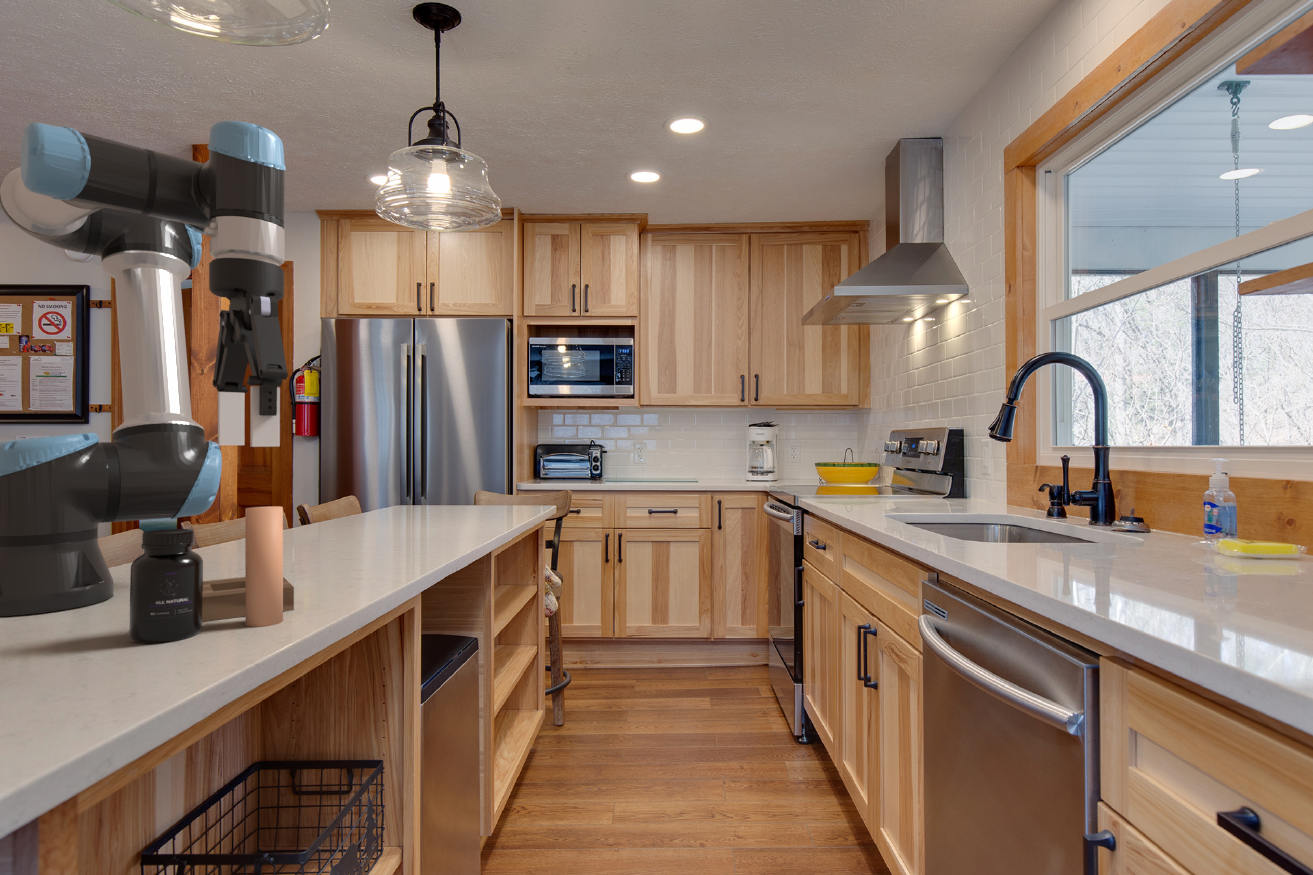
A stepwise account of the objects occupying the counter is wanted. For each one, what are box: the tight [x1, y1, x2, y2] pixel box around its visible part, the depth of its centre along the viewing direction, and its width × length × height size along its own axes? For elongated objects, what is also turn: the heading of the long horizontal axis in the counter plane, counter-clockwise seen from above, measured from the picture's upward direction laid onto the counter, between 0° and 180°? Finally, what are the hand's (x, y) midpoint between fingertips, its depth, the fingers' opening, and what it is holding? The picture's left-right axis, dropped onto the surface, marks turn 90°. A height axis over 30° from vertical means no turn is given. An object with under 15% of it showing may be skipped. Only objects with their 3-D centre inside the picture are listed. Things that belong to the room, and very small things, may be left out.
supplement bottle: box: [129, 528, 204, 644], centre depth 80 cm, size 7×7×12 cm
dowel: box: [244, 505, 284, 628], centre depth 86 cm, size 4×4×14 cm
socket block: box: [202, 576, 295, 623], centre depth 93 cm, size 12×12×3 cm
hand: (247, 446), depth 81 cm, fingers open, 13 cm apart
